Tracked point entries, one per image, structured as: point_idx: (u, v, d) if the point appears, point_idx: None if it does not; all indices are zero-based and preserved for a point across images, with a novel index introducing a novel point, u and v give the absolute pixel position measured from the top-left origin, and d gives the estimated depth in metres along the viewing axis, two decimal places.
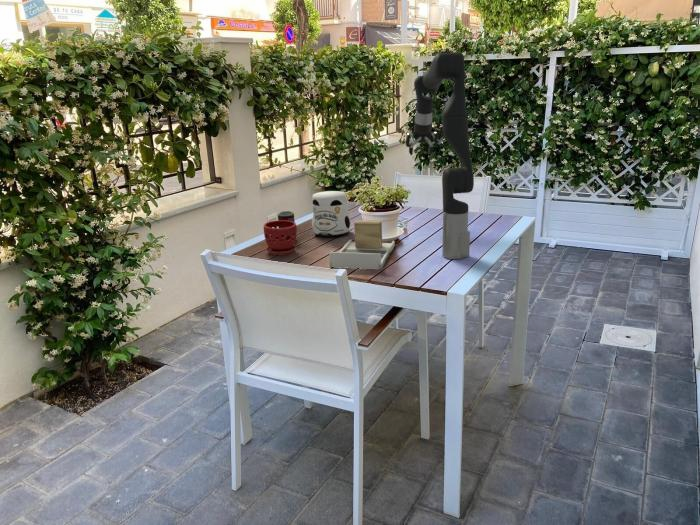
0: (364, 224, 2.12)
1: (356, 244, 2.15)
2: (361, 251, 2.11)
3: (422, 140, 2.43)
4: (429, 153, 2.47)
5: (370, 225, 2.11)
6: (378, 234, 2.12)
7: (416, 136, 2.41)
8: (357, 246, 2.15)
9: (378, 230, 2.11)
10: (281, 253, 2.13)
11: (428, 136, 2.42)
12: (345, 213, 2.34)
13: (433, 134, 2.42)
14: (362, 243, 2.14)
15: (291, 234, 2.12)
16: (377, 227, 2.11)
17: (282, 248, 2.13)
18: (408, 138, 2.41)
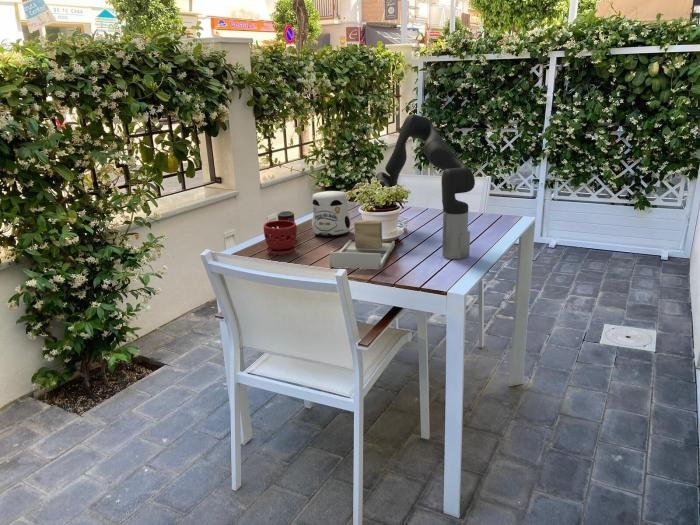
0: (364, 224, 2.12)
1: (356, 244, 2.15)
2: (361, 251, 2.11)
3: None
4: None
5: (370, 225, 2.11)
6: (378, 234, 2.12)
7: None
8: (357, 246, 2.15)
9: (378, 230, 2.11)
10: (281, 253, 2.13)
11: None
12: (345, 213, 2.34)
13: None
14: (362, 243, 2.14)
15: (291, 234, 2.12)
16: (377, 227, 2.11)
17: (282, 248, 2.13)
18: None
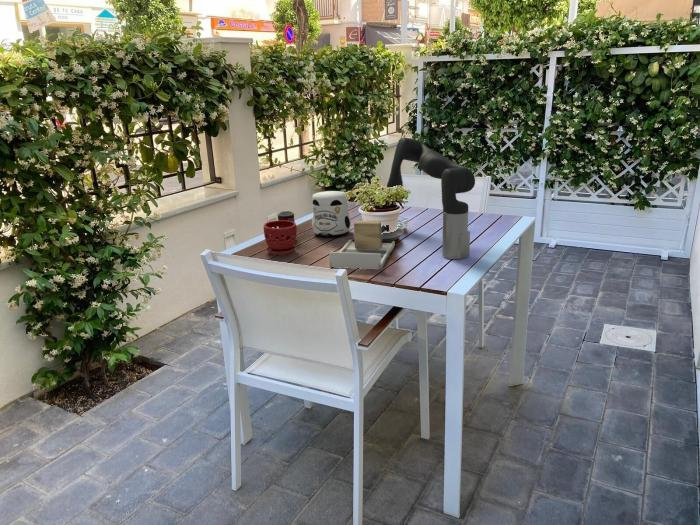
0: (364, 224, 2.11)
1: (356, 244, 2.15)
2: (361, 251, 2.11)
3: None
4: None
5: (370, 225, 2.10)
6: (378, 234, 2.11)
7: None
8: (357, 246, 2.15)
9: (378, 230, 2.10)
10: (281, 253, 2.13)
11: None
12: (345, 213, 2.34)
13: None
14: (362, 244, 2.14)
15: (291, 234, 2.12)
16: (377, 227, 2.10)
17: (282, 248, 2.13)
18: None
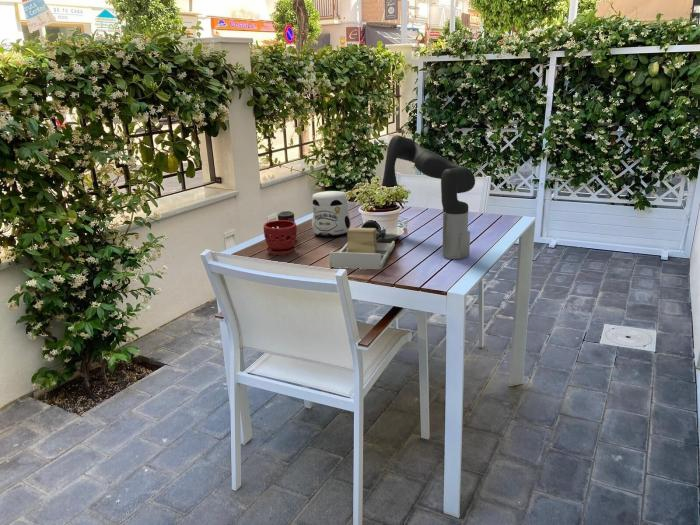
0: (357, 232, 2.01)
1: None
2: None
3: None
4: None
5: (364, 233, 2.01)
6: (372, 242, 2.01)
7: None
8: None
9: (372, 238, 2.00)
10: (281, 253, 2.13)
11: None
12: (345, 213, 2.34)
13: (381, 231, 2.14)
14: (355, 252, 2.04)
15: (291, 234, 2.12)
16: (371, 235, 2.00)
17: (282, 248, 2.13)
18: None
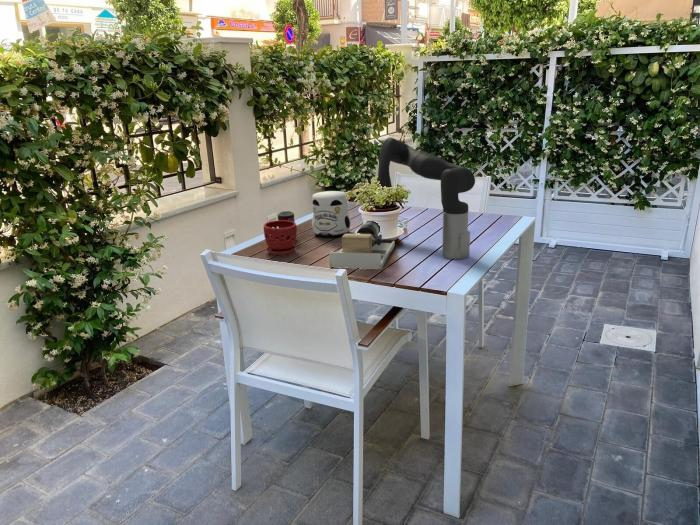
0: (352, 238, 1.94)
1: None
2: None
3: None
4: None
5: (359, 239, 1.93)
6: (367, 249, 1.93)
7: None
8: None
9: (367, 245, 1.93)
10: (281, 253, 2.13)
11: None
12: (345, 213, 2.34)
13: (377, 237, 2.07)
14: None
15: (291, 234, 2.12)
16: (366, 241, 1.93)
17: (282, 248, 2.13)
18: None
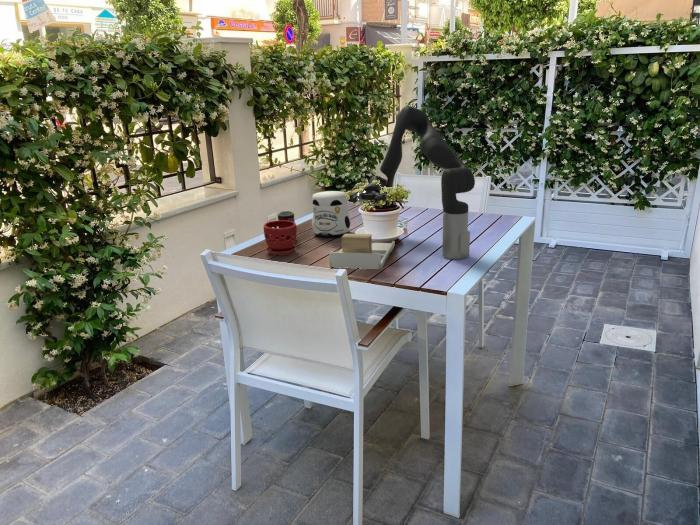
0: (352, 238, 1.93)
1: None
2: None
3: (368, 194, 2.12)
4: (375, 197, 2.05)
5: (359, 239, 1.93)
6: (367, 249, 1.93)
7: None
8: None
9: (367, 245, 1.93)
10: (281, 253, 2.13)
11: None
12: (345, 213, 2.34)
13: (382, 194, 2.13)
14: None
15: (291, 234, 2.12)
16: (366, 241, 1.92)
17: (282, 248, 2.13)
18: (353, 193, 2.15)
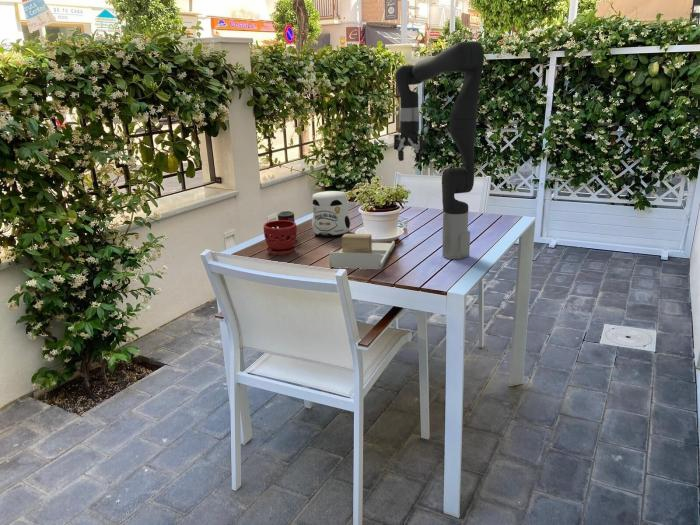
0: (352, 238, 1.93)
1: None
2: None
3: (408, 143, 2.12)
4: None
5: (359, 239, 1.93)
6: (367, 249, 1.93)
7: (402, 137, 2.14)
8: None
9: (367, 245, 1.93)
10: (281, 253, 2.13)
11: (413, 138, 2.10)
12: (345, 213, 2.34)
13: None
14: None
15: (291, 234, 2.12)
16: (366, 241, 1.92)
17: (282, 248, 2.13)
18: (395, 139, 2.16)
